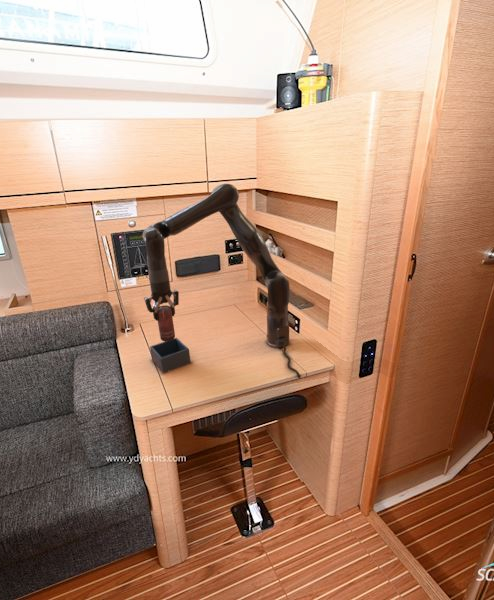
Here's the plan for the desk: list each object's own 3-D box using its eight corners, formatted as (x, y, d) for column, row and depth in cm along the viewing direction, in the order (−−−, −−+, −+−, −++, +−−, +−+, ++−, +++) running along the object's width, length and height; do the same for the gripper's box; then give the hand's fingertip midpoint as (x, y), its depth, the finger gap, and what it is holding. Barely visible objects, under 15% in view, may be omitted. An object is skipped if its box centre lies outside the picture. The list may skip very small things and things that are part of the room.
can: (161, 343, 137) (156, 312, 131) (160, 336, 142) (155, 306, 137) (176, 340, 138) (171, 309, 133) (174, 333, 144) (170, 303, 138)
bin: (190, 362, 142) (189, 348, 140) (163, 373, 136) (160, 359, 134) (178, 350, 152) (176, 337, 150) (152, 360, 146) (149, 346, 144)
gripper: (144, 285, 124) (151, 326, 130) (180, 277, 131) (184, 316, 137) (138, 280, 130) (145, 319, 136) (172, 272, 137) (177, 310, 143)
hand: (165, 317), depth 136 cm, fingers closed on can, 6 cm apart
